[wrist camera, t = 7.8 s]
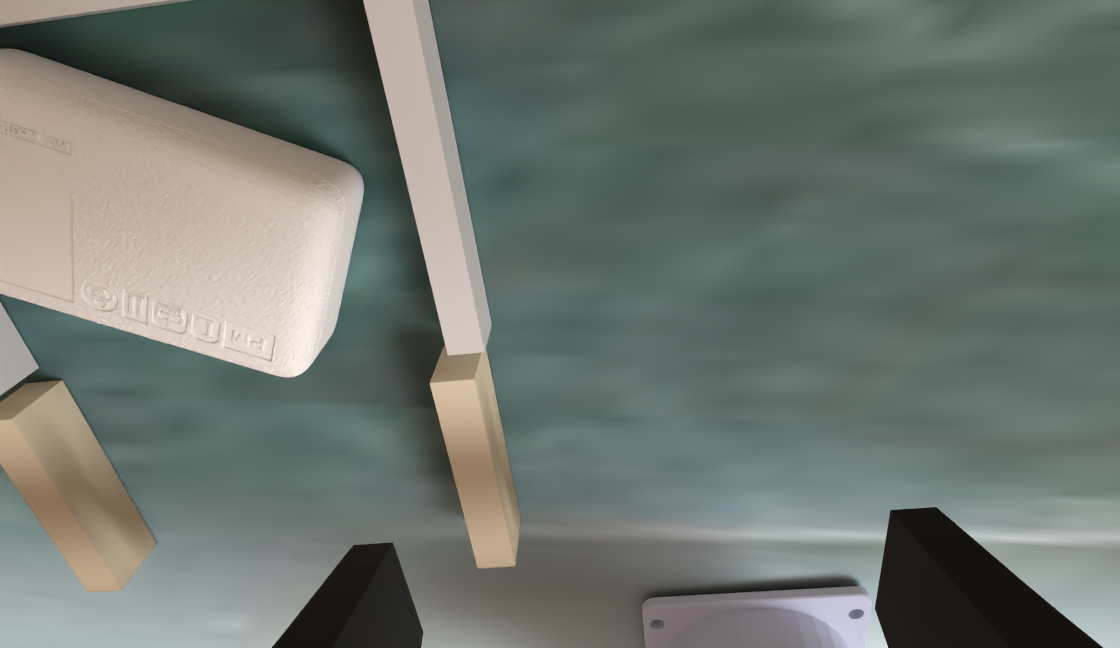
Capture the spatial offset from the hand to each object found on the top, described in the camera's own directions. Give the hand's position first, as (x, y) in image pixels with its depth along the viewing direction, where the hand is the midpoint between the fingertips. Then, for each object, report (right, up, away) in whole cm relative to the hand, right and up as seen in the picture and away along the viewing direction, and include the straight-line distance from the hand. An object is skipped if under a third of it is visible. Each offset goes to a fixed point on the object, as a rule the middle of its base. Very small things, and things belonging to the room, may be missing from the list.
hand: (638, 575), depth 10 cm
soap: (-11, +7, +8) cm, 15 cm away
